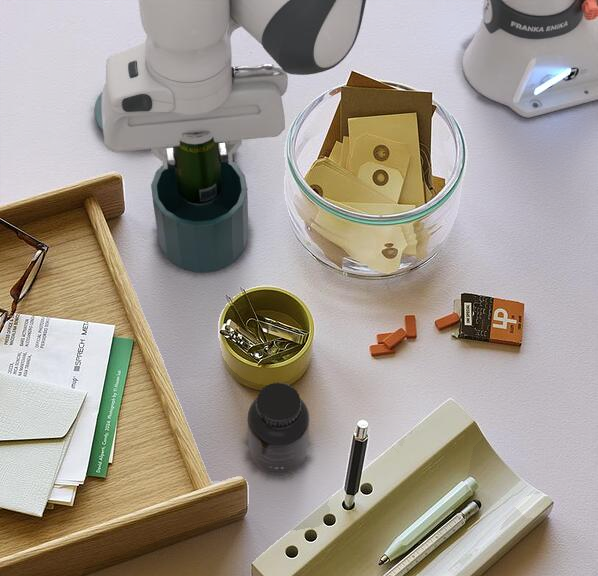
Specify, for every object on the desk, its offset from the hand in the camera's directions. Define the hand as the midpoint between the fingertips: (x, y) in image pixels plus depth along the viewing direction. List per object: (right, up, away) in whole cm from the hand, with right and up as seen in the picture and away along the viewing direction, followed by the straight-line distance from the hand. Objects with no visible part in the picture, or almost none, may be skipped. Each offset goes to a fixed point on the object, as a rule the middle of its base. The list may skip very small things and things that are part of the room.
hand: (197, 162), depth 122 cm
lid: (-10, +12, +21) cm, 26 cm away
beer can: (0, -2, +5) cm, 5 cm away
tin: (0, -6, +12) cm, 14 cm away
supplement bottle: (+9, -34, -1) cm, 35 cm away
